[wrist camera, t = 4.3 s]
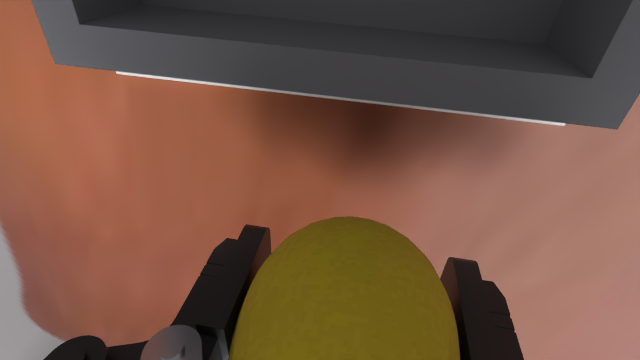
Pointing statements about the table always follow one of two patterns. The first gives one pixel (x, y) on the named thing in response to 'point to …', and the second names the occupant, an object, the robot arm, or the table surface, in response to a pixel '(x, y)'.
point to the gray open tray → (374, 50)
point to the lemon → (346, 299)
